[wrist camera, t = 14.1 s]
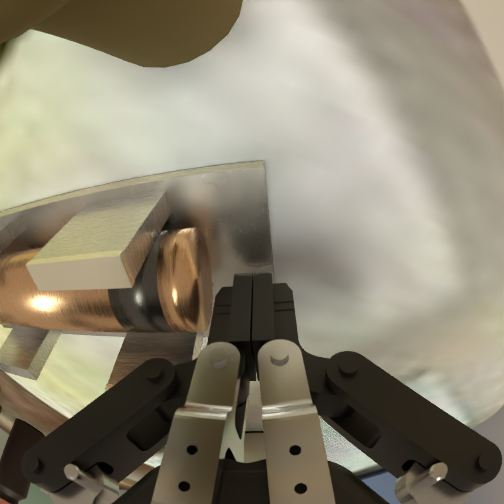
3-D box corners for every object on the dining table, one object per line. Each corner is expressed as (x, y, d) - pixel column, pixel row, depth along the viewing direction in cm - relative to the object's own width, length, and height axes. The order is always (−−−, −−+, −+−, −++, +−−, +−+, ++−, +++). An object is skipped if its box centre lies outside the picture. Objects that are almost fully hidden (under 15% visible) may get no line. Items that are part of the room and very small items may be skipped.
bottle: (9, 414, 35) (-19, 495, 18) (32, 424, 34) (5, 512, 18) (28, 431, 38) (4, 506, 21) (51, 440, 38) (28, 521, 21)
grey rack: (277, 319, 17) (282, 410, 12) (9, 319, 18) (-23, 369, 13) (263, 160, 12) (267, 225, 7) (-40, 226, 13) (-87, 271, 9)
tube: (196, 207, 12) (177, 279, 9) (215, 279, 14) (207, 351, 11) (-26, 246, 13) (-56, 289, 10) (3, 290, 15) (-21, 333, 12)
